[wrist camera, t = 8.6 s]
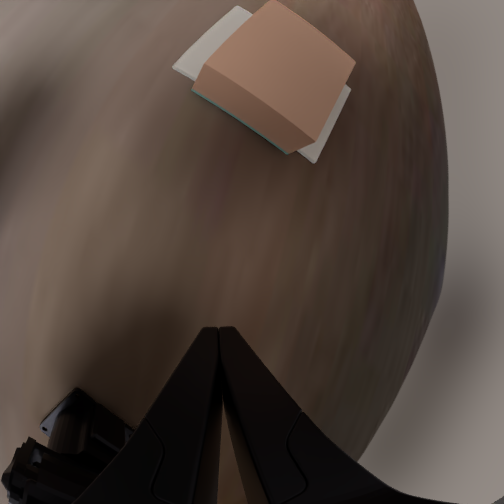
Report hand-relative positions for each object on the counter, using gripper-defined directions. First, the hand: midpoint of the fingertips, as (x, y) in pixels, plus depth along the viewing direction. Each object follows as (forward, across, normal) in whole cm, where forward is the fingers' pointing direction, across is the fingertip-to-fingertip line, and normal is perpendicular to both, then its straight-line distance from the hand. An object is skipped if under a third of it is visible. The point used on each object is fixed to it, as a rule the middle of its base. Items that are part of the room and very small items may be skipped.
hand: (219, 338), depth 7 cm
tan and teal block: (+15, -2, -6) cm, 16 cm away
